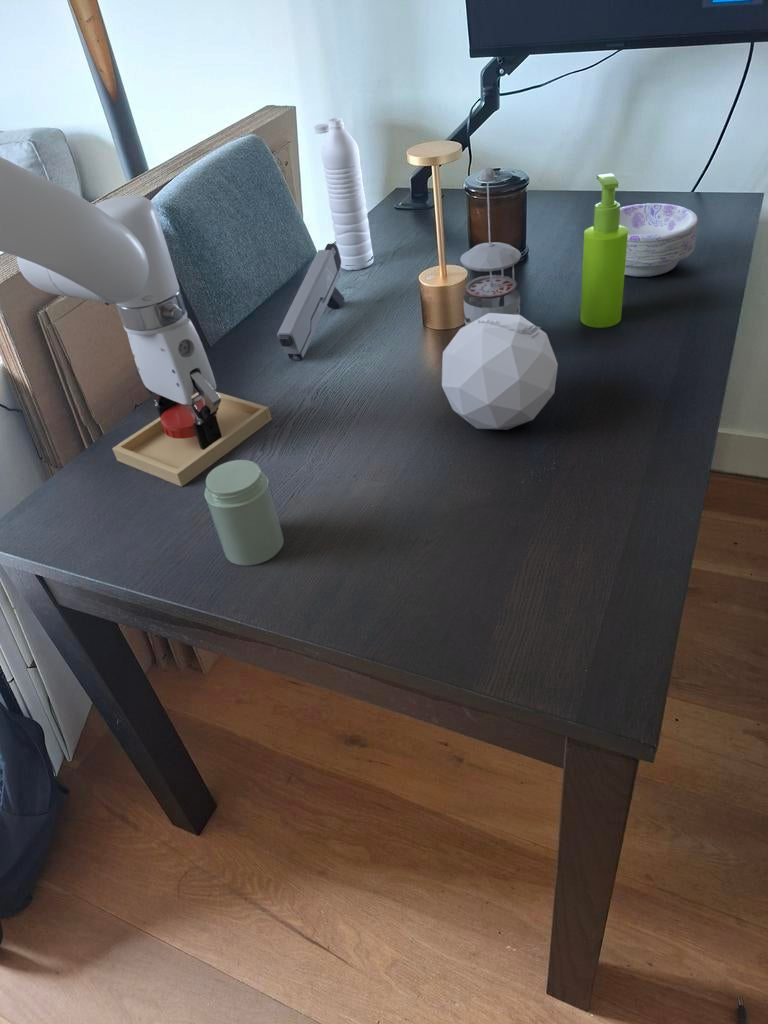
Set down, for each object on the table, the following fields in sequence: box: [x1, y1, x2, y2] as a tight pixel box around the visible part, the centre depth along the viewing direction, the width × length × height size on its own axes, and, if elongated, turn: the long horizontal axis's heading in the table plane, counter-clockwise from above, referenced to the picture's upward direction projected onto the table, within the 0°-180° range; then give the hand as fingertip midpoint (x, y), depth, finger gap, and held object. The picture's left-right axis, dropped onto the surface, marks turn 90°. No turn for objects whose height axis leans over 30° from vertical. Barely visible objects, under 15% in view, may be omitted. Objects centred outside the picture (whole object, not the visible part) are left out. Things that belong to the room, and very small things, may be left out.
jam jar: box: [203, 459, 285, 567], centre depth 79 cm, size 7×7×9 cm
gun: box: [276, 243, 345, 361], centre depth 121 cm, size 2×25×10 cm, turn 164°
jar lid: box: [160, 400, 217, 439], centre depth 99 cm, size 7×7×2 cm
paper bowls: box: [619, 203, 699, 278], centre depth 124 cm, size 15×15×8 cm
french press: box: [459, 167, 522, 326], centre depth 103 cm, size 10×12×25 cm
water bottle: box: [313, 117, 374, 271], centre depth 134 cm, size 9×6×25 cm
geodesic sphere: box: [441, 313, 559, 431], centre depth 91 cm, size 15×14×14 cm
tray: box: [111, 390, 273, 488], centre depth 100 cm, size 17×13×2 cm
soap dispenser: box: [579, 173, 628, 329], centre depth 108 cm, size 6×7×20 cm
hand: (193, 435), depth 100 cm, fingers closed on jar lid, 6 cm apart
